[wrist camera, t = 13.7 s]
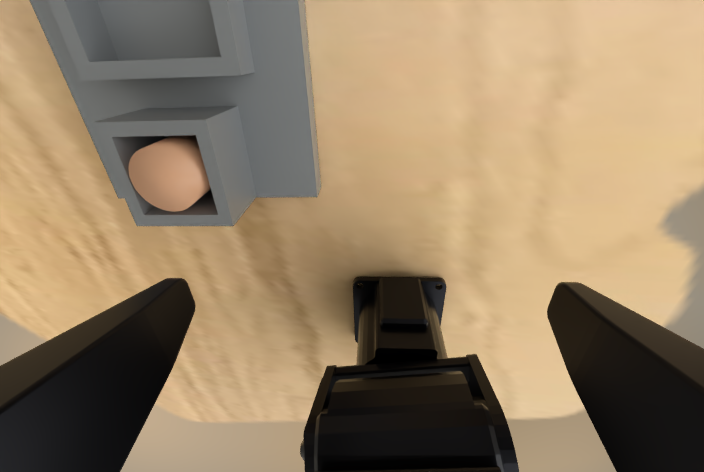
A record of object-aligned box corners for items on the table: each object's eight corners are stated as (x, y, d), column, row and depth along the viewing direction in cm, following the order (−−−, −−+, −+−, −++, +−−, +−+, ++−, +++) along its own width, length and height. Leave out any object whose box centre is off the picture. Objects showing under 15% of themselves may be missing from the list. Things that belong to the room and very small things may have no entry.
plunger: (232, 185, 17) (205, 211, 14) (179, 185, 17) (143, 211, 15) (218, 128, 16) (186, 145, 13) (161, 130, 16) (117, 147, 13)
